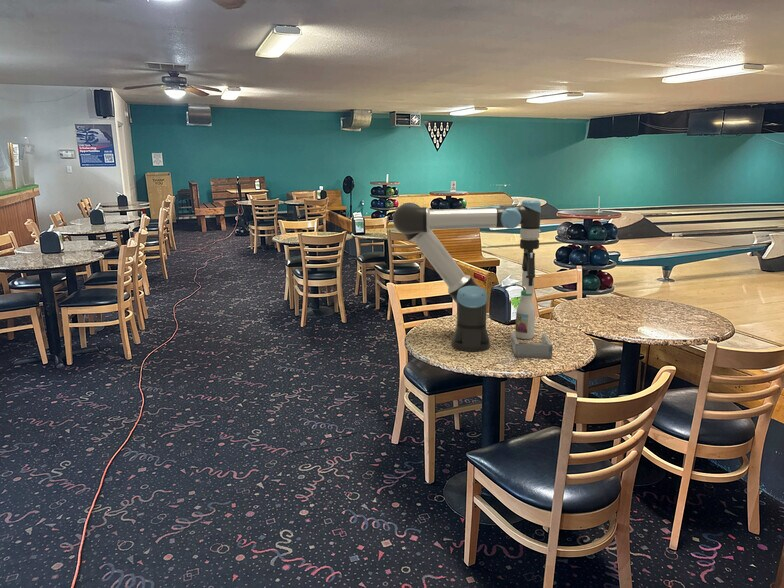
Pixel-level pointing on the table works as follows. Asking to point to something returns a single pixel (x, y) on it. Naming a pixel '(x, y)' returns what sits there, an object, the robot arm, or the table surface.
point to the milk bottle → (525, 317)
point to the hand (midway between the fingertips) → (527, 289)
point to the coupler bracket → (532, 348)
